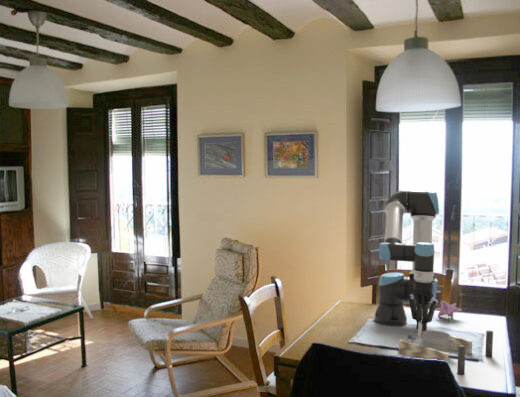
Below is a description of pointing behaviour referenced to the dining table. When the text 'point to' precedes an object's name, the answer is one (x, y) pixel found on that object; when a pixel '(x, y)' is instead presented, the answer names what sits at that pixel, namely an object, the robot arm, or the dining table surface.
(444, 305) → the lily
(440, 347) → the teacup
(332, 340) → the dining table surface
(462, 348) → the wooden bars
